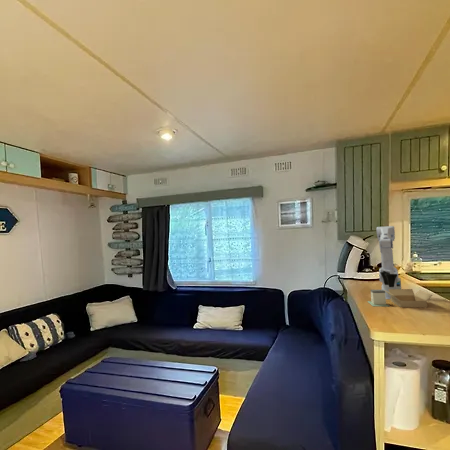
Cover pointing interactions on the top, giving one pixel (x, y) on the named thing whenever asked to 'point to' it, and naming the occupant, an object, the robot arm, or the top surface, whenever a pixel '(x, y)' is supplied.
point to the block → (378, 297)
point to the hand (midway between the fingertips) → (389, 285)
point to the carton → (409, 297)
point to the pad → (378, 304)
